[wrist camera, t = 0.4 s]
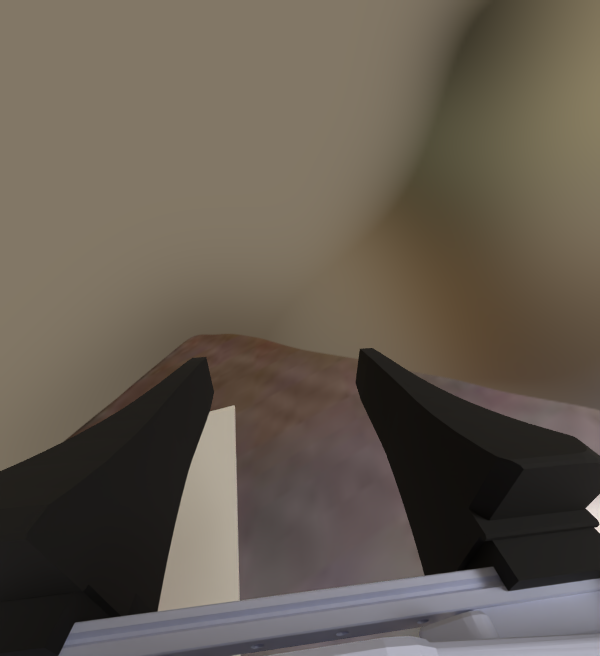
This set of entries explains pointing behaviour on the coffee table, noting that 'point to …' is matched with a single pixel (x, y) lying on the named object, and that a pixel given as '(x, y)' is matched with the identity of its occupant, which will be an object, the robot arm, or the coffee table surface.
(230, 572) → the mat
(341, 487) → the coffee table surface
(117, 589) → the robot arm
